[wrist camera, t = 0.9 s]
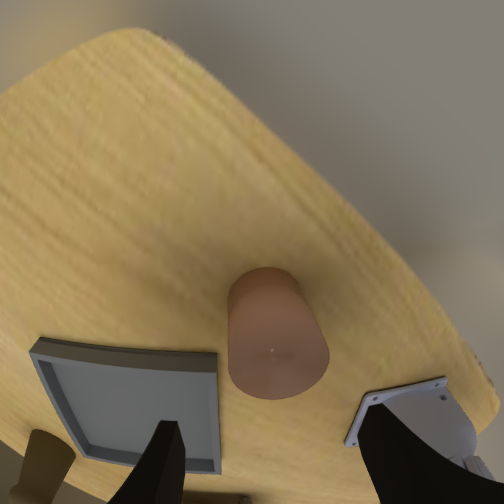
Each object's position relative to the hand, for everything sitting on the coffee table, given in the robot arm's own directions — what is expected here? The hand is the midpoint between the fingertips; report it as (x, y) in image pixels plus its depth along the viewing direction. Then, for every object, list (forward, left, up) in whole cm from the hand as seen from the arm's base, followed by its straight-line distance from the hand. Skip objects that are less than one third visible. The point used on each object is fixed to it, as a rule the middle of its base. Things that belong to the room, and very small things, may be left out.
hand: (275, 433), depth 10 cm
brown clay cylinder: (-1, -1, -10) cm, 10 cm away
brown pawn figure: (+22, +20, -10) cm, 32 cm away
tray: (+9, +10, -9) cm, 17 cm away
